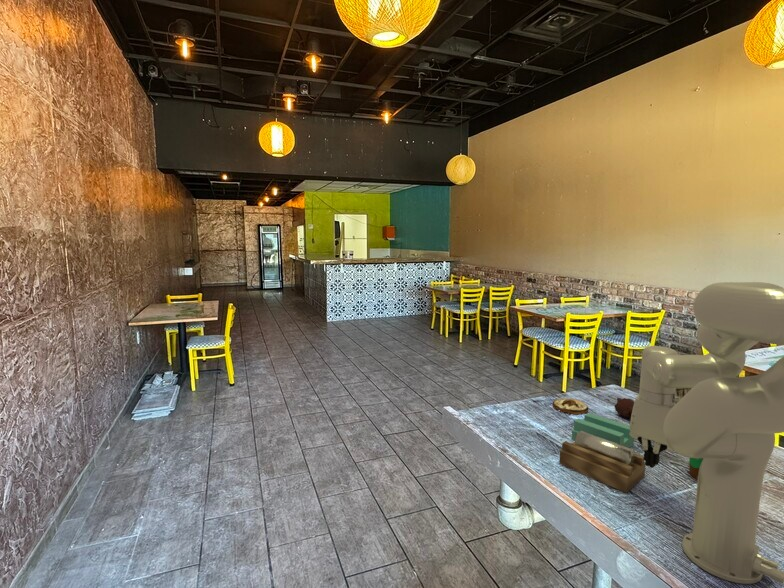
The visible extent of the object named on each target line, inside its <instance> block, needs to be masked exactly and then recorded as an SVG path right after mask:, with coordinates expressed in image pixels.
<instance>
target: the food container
mask: <svg viewBox="0 0 784 588" xmlns="http://www.w3.org/2000/svg"><path fill="white" fill-rule="evenodd" d="M688 459H689V462H688V463H689V465H688V466H689V467H688V470H689V472H688V473H689V476H690V477H691V478H692V479H693V480H695V481H697V482H698V474H699V468H700V465H701V463H702V460H703V459H704V458H690V457H688Z"/></svg>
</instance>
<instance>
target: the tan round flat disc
mask: <svg viewBox="0 0 784 588" xmlns="http://www.w3.org/2000/svg"><path fill="white" fill-rule="evenodd" d="M552 408H554V409H555V410H556V409H557V410H556V411H558V410H560V411H559V412H561V411H562V412H565V413H564V414H566V413H569V414H568V415H571V414H573V416H580V415H585V414H587V412H588V411H589V410H590V409H589V407H588V405H587V404H586V403H584V402H583V401H581V400H580V399H576V398H555V399H554V400H553V402H552ZM562 412H561V413H562ZM579 414H580V415H579Z"/></svg>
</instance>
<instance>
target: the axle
mask: <svg viewBox="0 0 784 588" xmlns="http://www.w3.org/2000/svg"><path fill="white" fill-rule="evenodd" d="M574 442H575V445H577V446H580V447H582V448H585V449H588V450H590V451H593V452H595V453H598V454H600V455H603V456H606V457H608V458H611V459H613V460H616V461H619V462H621V463H624V464H626V465H629V466H632V465H633V463H634V460H635V453H636V451H635V449H633V448H631V447H629V448H628V447H625V446H623V445H620V444H617V443H614V442H611V441H608V440H606V439H603V438H600V437H597V436H594V435H592V434H589V433H586V432H583V431H579V432H578V434H577V435H576V438H575V441H574Z"/></svg>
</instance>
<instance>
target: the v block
mask: <svg viewBox="0 0 784 588" xmlns="http://www.w3.org/2000/svg"><path fill="white" fill-rule="evenodd" d="M583 418H584V419H582V418H577V419H575V420H574V421H573V430H572V431H571V440H572V441H573V442H575V438H576V434H578V432H579V431H583V432H586V433H589V434H592V435H594V436H597V437H600V438H603V439H606V440H608V441H611V442H614V443H617V444H620V445H623V446H625V447H628V448H631V447H632V446H634V444H635V438H633V437H631V436H630V435H629V433H630V424H629V425H628V424H625V423H622V422H619V421H615V420H613V419H610V418H606V417H602V416H600V415H597V414H593V413H590V412H588V413H585V414H584V417H583Z"/></svg>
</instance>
